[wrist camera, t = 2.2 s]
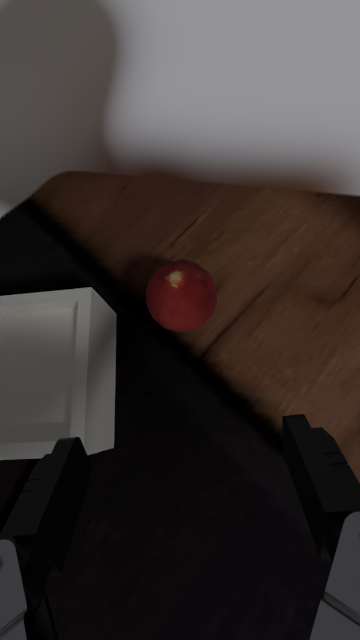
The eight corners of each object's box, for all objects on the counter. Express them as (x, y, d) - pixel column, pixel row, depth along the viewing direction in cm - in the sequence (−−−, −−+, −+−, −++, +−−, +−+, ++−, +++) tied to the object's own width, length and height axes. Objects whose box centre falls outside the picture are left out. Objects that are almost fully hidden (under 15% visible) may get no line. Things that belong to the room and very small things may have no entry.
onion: (168, 276, 30) (152, 228, 22) (224, 292, 28) (227, 247, 21) (146, 330, 28) (121, 297, 21) (204, 349, 27) (200, 322, 19)
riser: (117, 314, 29) (91, 287, 23) (115, 447, 26) (83, 456, 19) (2, 324, 30) (-52, 301, 24) (-17, 453, 27) (-86, 463, 20)
